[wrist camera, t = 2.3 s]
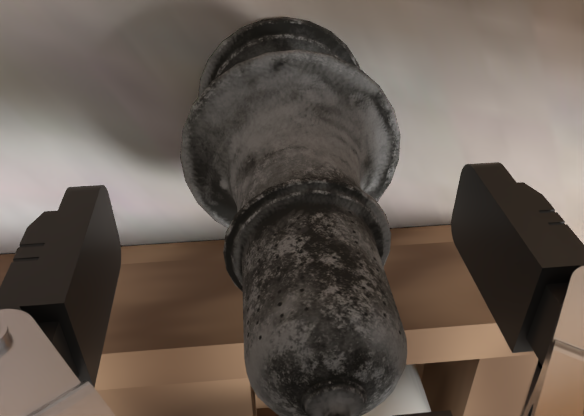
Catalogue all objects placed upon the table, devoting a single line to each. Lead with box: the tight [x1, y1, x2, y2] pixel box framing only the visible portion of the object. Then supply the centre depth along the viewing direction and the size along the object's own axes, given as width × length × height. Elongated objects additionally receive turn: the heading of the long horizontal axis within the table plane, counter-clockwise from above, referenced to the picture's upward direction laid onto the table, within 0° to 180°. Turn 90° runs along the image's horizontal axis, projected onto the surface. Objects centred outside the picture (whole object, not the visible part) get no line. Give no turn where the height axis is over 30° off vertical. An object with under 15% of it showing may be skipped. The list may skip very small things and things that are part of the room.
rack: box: [0, 225, 538, 416], centre depth 22 cm, size 26×11×5 cm, turn 91°
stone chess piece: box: [180, 18, 407, 416], centre depth 13 cm, size 6×6×12 cm
